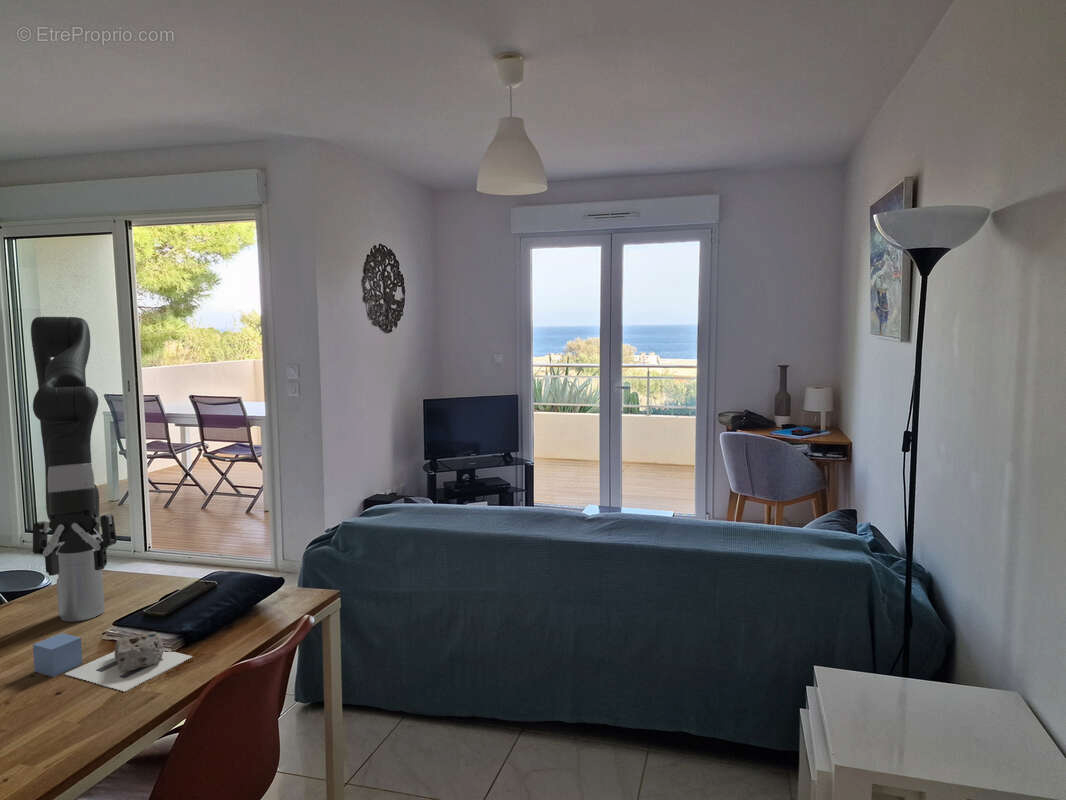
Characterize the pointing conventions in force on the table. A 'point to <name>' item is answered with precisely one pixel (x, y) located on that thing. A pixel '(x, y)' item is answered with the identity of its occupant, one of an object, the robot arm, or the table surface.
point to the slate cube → (57, 654)
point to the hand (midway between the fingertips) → (76, 572)
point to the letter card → (111, 677)
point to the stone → (138, 651)
